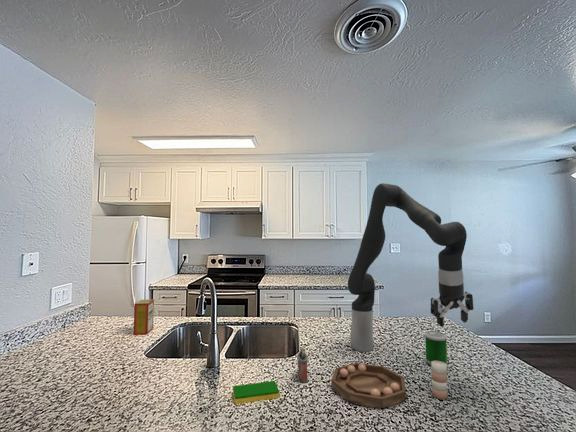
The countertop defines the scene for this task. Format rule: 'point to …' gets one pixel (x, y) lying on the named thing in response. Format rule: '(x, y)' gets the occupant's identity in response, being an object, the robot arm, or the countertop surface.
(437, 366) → the bead stack
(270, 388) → the dish sponge
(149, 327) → the baking soda box
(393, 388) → the seated beads
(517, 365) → the countertop surface
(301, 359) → the lighter
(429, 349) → the soda can
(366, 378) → the bead tray
